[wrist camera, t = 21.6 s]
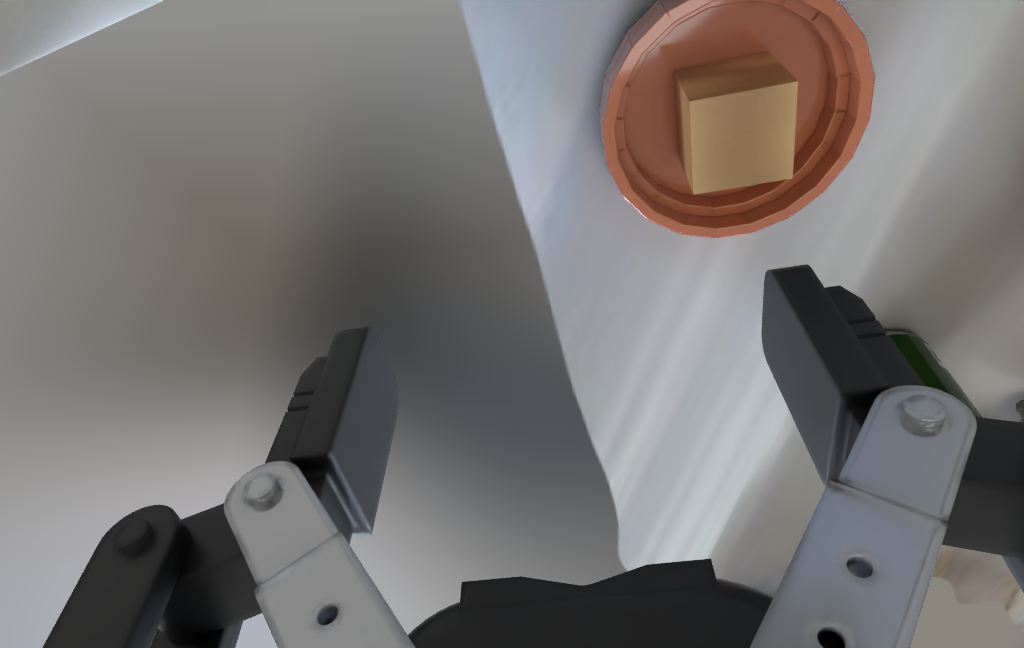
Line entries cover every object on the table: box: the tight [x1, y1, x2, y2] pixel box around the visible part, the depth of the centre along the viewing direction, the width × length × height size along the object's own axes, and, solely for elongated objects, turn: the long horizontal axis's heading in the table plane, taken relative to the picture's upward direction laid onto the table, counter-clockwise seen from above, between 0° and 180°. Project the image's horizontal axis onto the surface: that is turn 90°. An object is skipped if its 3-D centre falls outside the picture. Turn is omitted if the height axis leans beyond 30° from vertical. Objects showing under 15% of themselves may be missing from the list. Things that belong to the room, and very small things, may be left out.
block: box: [673, 52, 798, 195], centre depth 31 cm, size 4×4×4 cm
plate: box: [599, 0, 875, 238], centre depth 32 cm, size 12×12×3 cm
